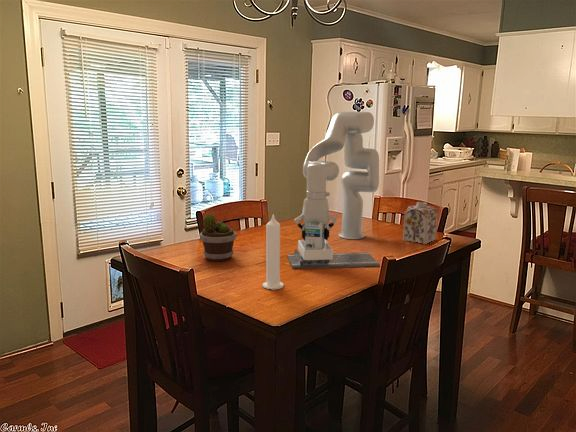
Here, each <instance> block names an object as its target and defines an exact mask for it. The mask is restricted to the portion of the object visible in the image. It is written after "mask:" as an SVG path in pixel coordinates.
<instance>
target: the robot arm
mask: <svg viewBox="0 0 576 432" xmlns="http://www.w3.org/2000/svg"><path fill="white" fill-rule="evenodd" d="M374 124H375V119H374V115H373V114H372V112H369V111H340V112H338V113H335V114H334V115H333V116H332V117H331V120H330V123H329V125H328V127H327V128H328V129H327V131H326V133H325V136H324V139H322V140H321V141H319V142H318V143H317V144H316V145H314V146H313V147H312V148H310V150H309V151H308V152H307V155H306V157H305V160H304V162H303V166H302V174H303V177H304V178H306V195H305V196H306V198H305V197H304V199H303V204H302V212H301V214H300V215H299V216H297V217H296V218H295V219H293V221H294V223H296V225H297V227H298V228H299V229H300V230H301V238H302V239H303V240H304V241H305V224H306V223H323V225H325V237H324V238H325V240H326V241H328V239H329V238H330V230H331V228H333V227H334V226H335V224H336V222H337V220H338V219H337V218H336V217H335V216H334V215H332V214H330V209H329V199H328V198H327V197H329V196H330V193H331V192H328V191H327V182H329V181H331V182H332V181H335V180H336V179H337V178H338V176H339V174H340V168H339V165H338V164H337V163H336V162H334V161H326V160H325V161H324V160H320V159H321V158H323V157H326V156H329V155H331V154H334V153H337V152H339V151H341V150H342V149H343V155H344V157H343V158H344V159H343V160H344V166H345V167H347V168H349V169H356V170H347V171H344V173H342V175H341V179H340V180H341V181H340V182H341V189H342V210H341V211H342V215H341V218H342V219H341V231H339V232H338V237H339V238H342V239H345V240H346V239H347V240H361V239H364V238H365V237H366V235H365V233H363V232H362V231H363V209H364V208H363V207H364V203H363V202H364V200H363V198H362V195H361V194H360V192H361V193H375V192H377V191H378V190H379V186H380V155H379V152H378V150H376V149H374V148H367V147H366V148H364V141H363V140H364V139H363V135H362V134H366V133H369V132H370V131H371V130H373V127H374ZM357 169H358V170H357ZM362 170H367V171H362ZM330 220H331V221H330ZM300 221H302V222H303V223H302V224H301V222H300Z"/></svg>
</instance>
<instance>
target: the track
mask: <svg viewBox="0 0 576 432" xmlns="http://www.w3.org/2000/svg"><path fill="white" fill-rule="evenodd" d="M286 255H287V256H286V257H287V259H288V263H289V264H290V266H291V269H292V270H301V269H302V270H303V269H305V270H306V269H332V268H333V269H335V268H366V267H365V266H375V267H380V263H379V261H377V260H376V259H375V258H374V257H373V256H372V255H371V254H370V253H369V251H368V252H366V251H365V252H364V251H363V252H339V253H338V252H335V253H334V252H333V259H330V262H329V263H328V264H326V263H325V262H324V260H311V261H312V262H311V264H307V263H306V260H303V258H302V256H301V254H300V252H299V250H298V249H294V253H293V254H291V253H290V254H289V253H288V254H286Z"/></svg>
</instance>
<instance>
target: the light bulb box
mask: <svg viewBox="0 0 576 432" xmlns="http://www.w3.org/2000/svg"><path fill="white" fill-rule="evenodd" d="M325 228H326V227H325V225H323V223H306V224H305V250H323V248H324V246H325V240H326V239H325V238H324V237H325Z"/></svg>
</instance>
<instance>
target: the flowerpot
mask: <svg viewBox="0 0 576 432" xmlns="http://www.w3.org/2000/svg"><path fill="white" fill-rule="evenodd" d="M201 226H203V229H202V231H201V232H200V233H199V239H200V241H201V242H202V246H203V249H204V250H203V253H202V254H203V256H204V257H205V258H206V260H208V261H210V262H223V260H224V261H228V260H230V259H231V258H232V256H233V254H234V249H233V247H234V241H235V240H236V238H238V236H237V232H236V231H235V230H234V229H233V228H231V227H229V224H227V225H226V223H224V222H223V220H221V219H220V220H219V221H218V218H217V217H216V215H215V214H213V212H212V211H211V213H210V211H208V210H207V211H206V214H204V215H203V219H202V225H201Z"/></svg>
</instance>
